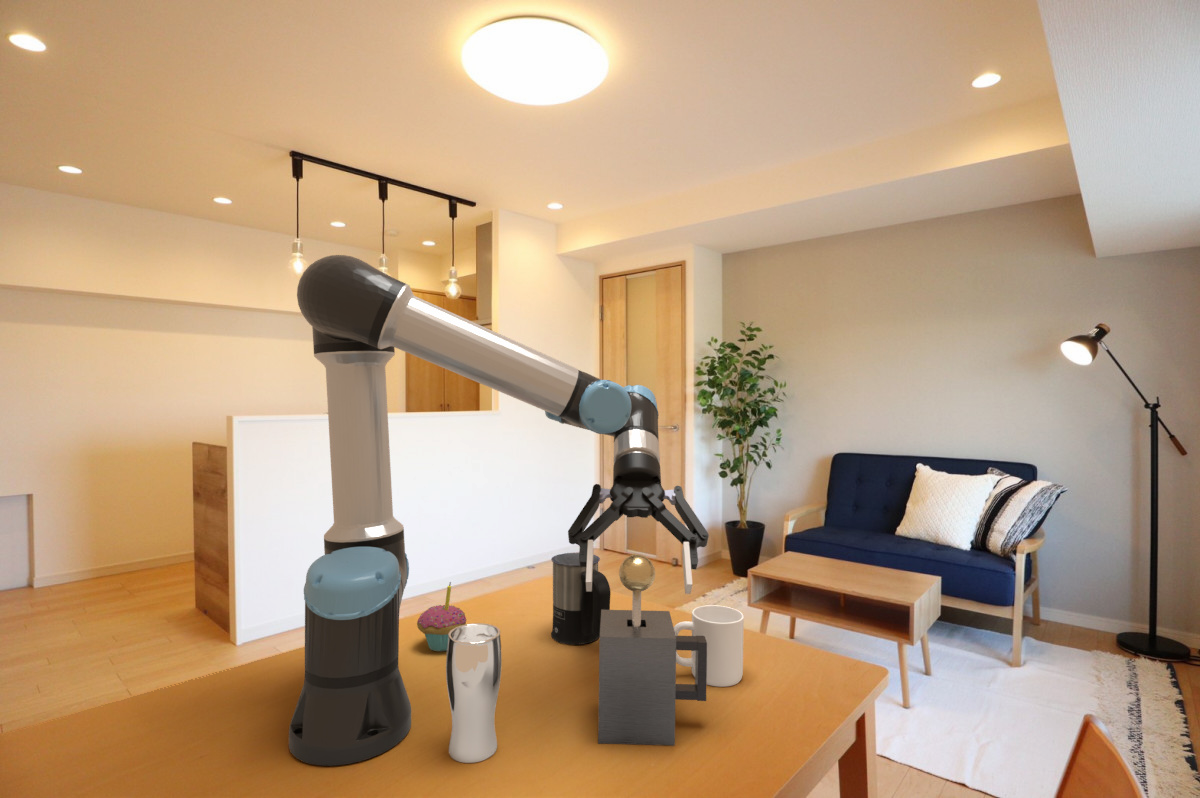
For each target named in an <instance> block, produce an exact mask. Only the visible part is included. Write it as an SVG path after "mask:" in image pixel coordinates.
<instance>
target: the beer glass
mask: <svg viewBox="0 0 1200 798" xmlns="http://www.w3.org/2000/svg"><path fill="white" fill-rule="evenodd" d="M445 661H446V663H445V679H446V688H447V694H448V701H449V707H450V712H451V713H450V714H451V723H452V724H451V733H450V734H451V735H450V740H449V746H448V754H449V756H450V757H451V758H452V759H453V760H454V761H456V762H459V763H463V764H474V763H479V762H482V761H485V760H487V759H489V758H491V757H492V756H493V755H494V754H495V753H496V751H497V748H498V739H497V733H496V727H495V713H496V706H497V701H498V697H499V691H500V685H501V677H502V667H503V665H502V661H503V660H502V642H501V629H500V628H499V627H498V626H496V625H494V624H489V623H485V622H484V623H482V622H481V623H480V622H475V623H473V622H472V623H466V624H465V625H461V626H458V627H456V628H454V629H452V630H451V631H450V632H449V634H448V646H447V651H446V659H445Z"/></svg>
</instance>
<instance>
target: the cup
mask: <svg viewBox="0 0 1200 798" xmlns="http://www.w3.org/2000/svg"><path fill="white" fill-rule="evenodd" d="M744 620H745V619H744V614H743V613H742V612H741V611H740V610H739V609H736V608H733V607H729V606H726V605H725V606H724V605H719V604H708V605H700V606H697V607H695V608H694V609H693V610H691V621H688V620H687V621H686V620H685V621H680V622H677V623H676V624H675V625H673V628H674V631H675V635H676V636H679V633H680V632H681V631H682V630H688V631H691V636H705V639H706V641H707V680H706V686H711V687H717V688H718V687H719V688H721V687H722V688H724V687H725V688H727V687H732V686H735V685H737V684H739V683H740V682H741V680H742V678H743V673H744V628H745V627H744V622H745V621H744ZM690 652H691V653H690V654H691V657H681V656H680V655H679V654H678V650H676V664H678V665H680V666H682V667H686V668H687V667H688V668H690V667H691V673H692V676H693V677H694V678H695V660H696V651H692V650H690Z"/></svg>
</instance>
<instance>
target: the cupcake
mask: <svg viewBox="0 0 1200 798" xmlns="http://www.w3.org/2000/svg"><path fill="white" fill-rule="evenodd" d="M451 590H452V582H451V581H450V582H449V584H448V585H447V588H446V596H445V604H443V605H441V604H439V605H434V606H431V607H428V608H427V610H425V611H423V612H422V613H421V614H420V615H419V617H418V619H417V621H416V625H417V626H416V627H417V628H418V630H419V631H420V632H421V633H422V634H424V637H425V639H426V642H427V645H428V646H427V647H428V648H429V650H431V651H434V652H447V646H448V634H449V632H450V631H451V630H452V629H454V628H456V627H458V626H461V625H465V624H467V617H466V615H465V614H466V613H465V612H464V611H463V610H462V609H461V608H460V607H457V606H455V605H452V604H451V605H450V598H451V592H452V591H451Z"/></svg>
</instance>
